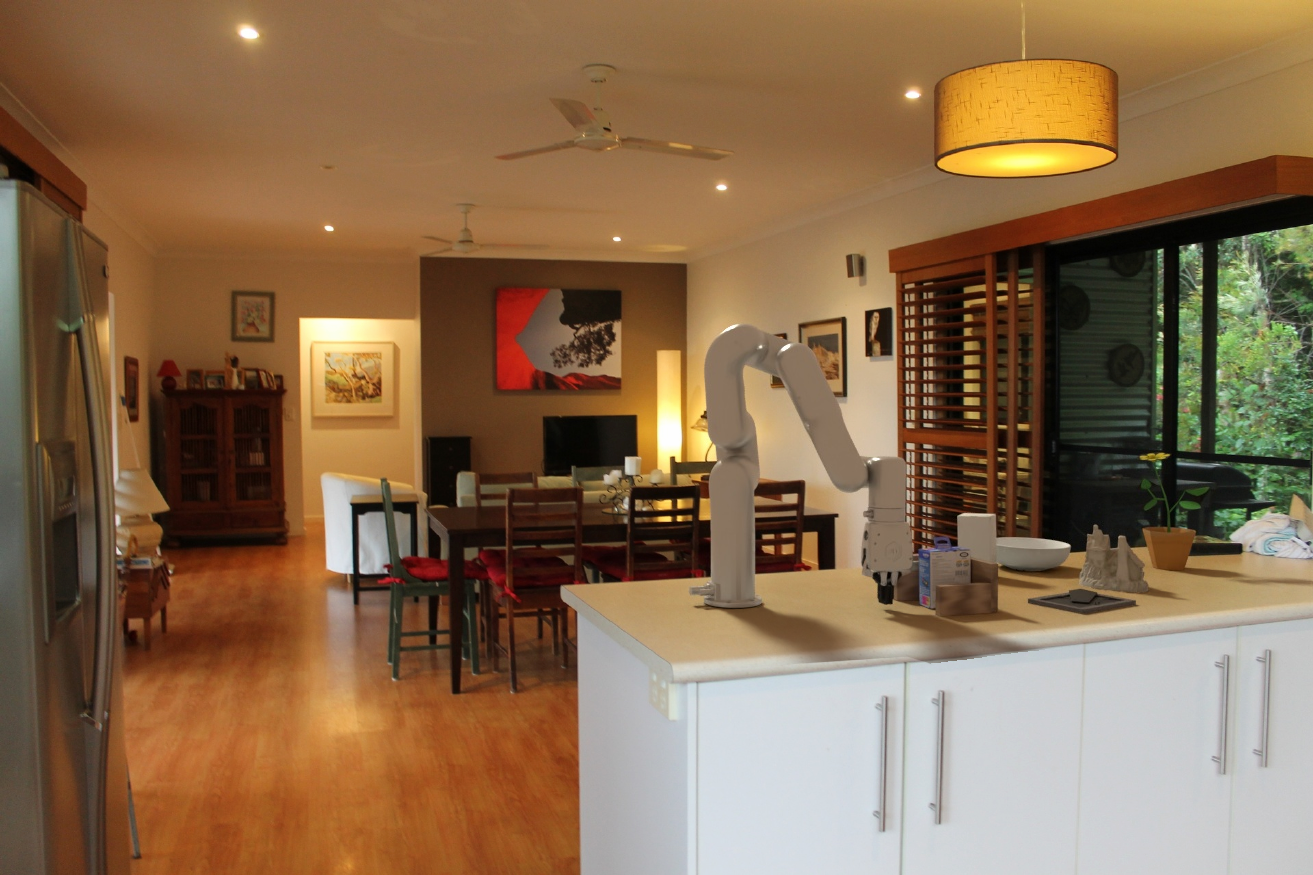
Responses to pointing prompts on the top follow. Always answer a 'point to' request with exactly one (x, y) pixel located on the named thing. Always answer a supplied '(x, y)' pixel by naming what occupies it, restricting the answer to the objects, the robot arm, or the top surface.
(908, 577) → the book rack
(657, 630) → the top surface
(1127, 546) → the ceramic cottage
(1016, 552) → the serving bowl
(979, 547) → the skincare box
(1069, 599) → the picture frame
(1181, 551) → the potted plant
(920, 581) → the ink cartridge box
